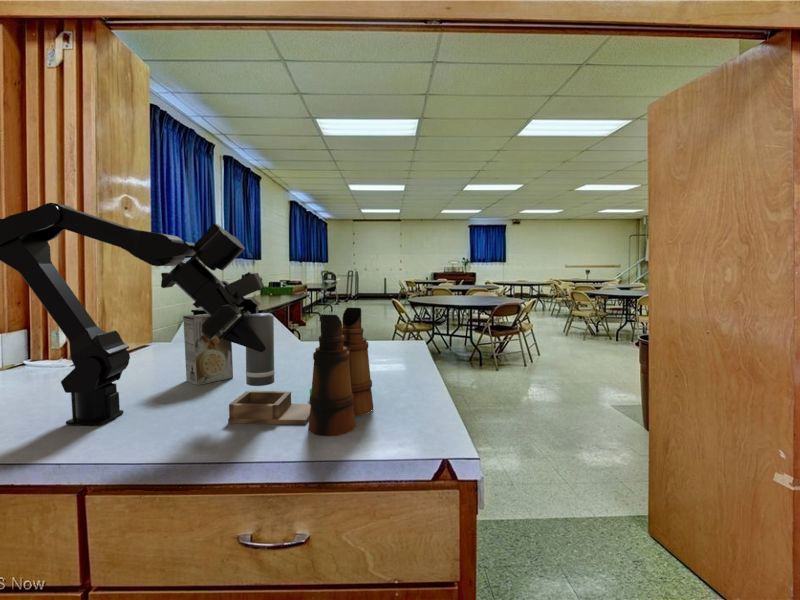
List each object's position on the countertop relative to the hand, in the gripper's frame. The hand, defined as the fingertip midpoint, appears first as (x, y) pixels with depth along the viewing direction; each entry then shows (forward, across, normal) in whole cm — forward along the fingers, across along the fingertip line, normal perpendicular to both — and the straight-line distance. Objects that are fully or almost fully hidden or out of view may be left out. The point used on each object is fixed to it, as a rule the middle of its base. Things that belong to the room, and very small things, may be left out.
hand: (267, 347), depth 82 cm
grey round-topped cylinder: (+4, 0, +6) cm, 7 cm away
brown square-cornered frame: (+10, 0, +8) cm, 13 cm away
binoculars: (+19, -2, -1) cm, 19 cm away
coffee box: (-4, +27, +23) cm, 36 cm away
